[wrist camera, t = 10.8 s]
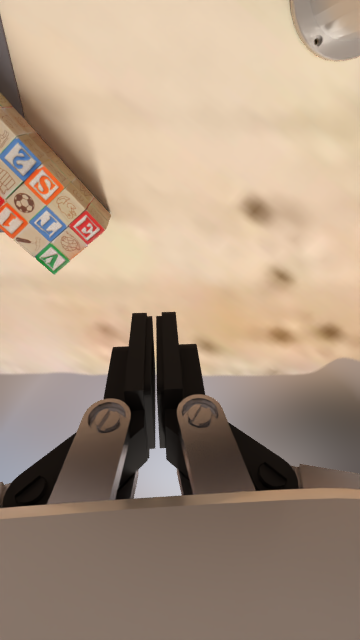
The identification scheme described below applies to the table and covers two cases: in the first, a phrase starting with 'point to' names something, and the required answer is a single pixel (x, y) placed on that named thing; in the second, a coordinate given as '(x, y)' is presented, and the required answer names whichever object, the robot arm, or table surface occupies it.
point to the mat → (8, 76)
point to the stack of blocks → (43, 196)
